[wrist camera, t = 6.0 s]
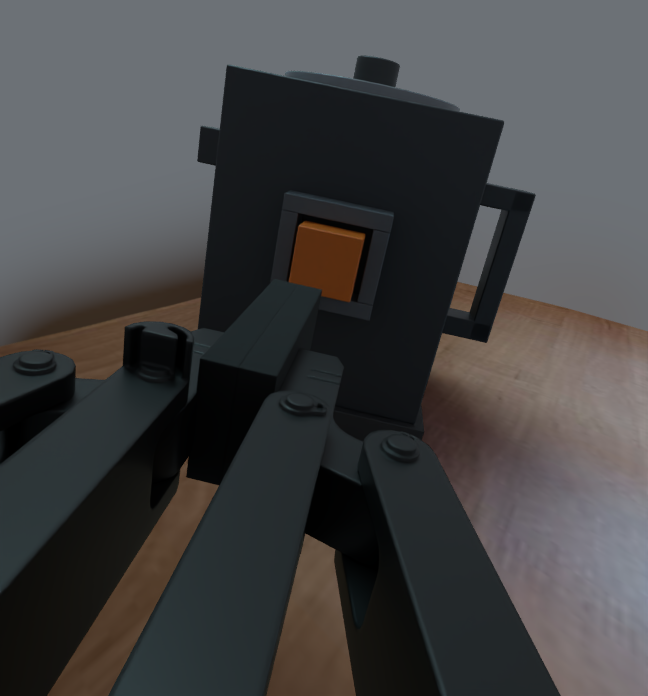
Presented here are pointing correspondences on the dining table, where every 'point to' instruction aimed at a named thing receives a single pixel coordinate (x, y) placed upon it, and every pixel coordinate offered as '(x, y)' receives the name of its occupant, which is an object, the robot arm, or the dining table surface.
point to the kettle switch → (327, 259)
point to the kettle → (358, 221)
